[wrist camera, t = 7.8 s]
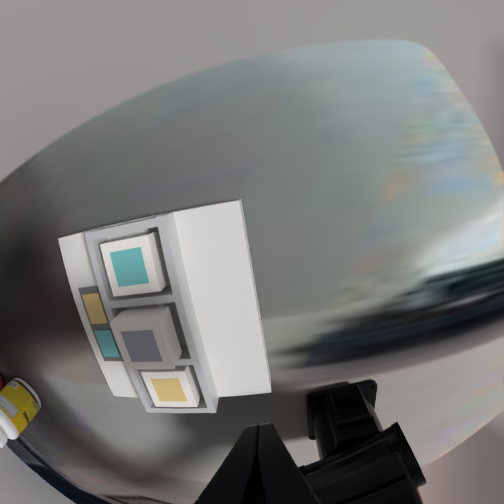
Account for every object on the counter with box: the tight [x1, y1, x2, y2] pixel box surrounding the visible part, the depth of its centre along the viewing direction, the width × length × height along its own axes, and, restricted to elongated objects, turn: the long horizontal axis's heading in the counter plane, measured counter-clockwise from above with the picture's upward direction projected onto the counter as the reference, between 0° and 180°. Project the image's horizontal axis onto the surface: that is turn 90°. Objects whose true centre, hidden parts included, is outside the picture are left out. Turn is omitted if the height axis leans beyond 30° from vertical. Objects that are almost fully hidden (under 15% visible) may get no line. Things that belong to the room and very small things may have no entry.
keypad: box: [58, 199, 271, 413], centre depth 19 cm, size 14×14×4 cm
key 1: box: [100, 230, 170, 297], centre depth 17 cm, size 3×3×2 cm
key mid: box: [110, 306, 182, 369], centre depth 17 cm, size 3×3×2 cm
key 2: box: [141, 365, 202, 407], centre depth 19 cm, size 3×3×2 cm
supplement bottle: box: [0, 378, 41, 448], centre depth 20 cm, size 5×5×10 cm
